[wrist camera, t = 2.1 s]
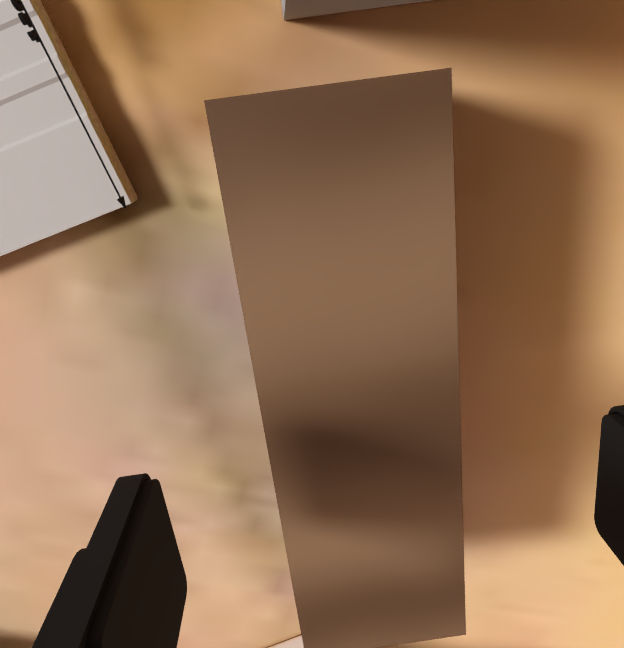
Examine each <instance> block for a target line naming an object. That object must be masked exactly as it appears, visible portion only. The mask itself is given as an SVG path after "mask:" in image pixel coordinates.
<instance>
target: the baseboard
mask: <svg viewBox="0 0 624 648" xmlns="http://www.w3.org/2000/svg"><path fill="white" fill-rule="evenodd" d="M136 200H137V195H136V193H135V191H134V189H133V187H132V184H131V182H130V180H129V178H128V176H127V174H126V172H125V170H124V168H123V166H122V164H121V162H120V160H119V158H118V156H117V154H116V152H115V150H114V148H113V146H112V144H111V142H110V140H109V138H108V136H107V134H106V132H105V130H104V128H103V126H102V124H101V122H100V120H99V118H98V116H97V114H96V112H95V110H94V108H93V105H92V103H91V101H90V99H89V97H88V95H87V93H86V91H85V89H84V87H83V85H82V83H81V81H80V79H79V77H78V75H77V73H76V71H75V69H74V67H73V65H72V63H71V61H70V59H69V57H68V55H67V53H66V51H65V49H64V47H63V45H62V43H61V41H60V39H59V37H58V35H57V33H56V31H55V29H54V26H53V24H52V22H51V20H50V18H49V16H48V14H47V12H46V10H45V8H44V6H43V4H42V2H41V0H0V256H2V255H5V254H7V253H10V252H12V251H15V250H17V249H20V248H22V247H25V246H27V245H30V244H32V243H35V242H37V241H39V240H42V239H44V238H47V237H49V236H52V235H54V234H57V233H59V232H62V231H64V230H67V229H69V228H72V227H74V226H77V225H79V224H82V223H84V222H87V221H89V220H92V219H94V218H97V217H99V216H102V215H104V214H106V213H109V212H111V211H114V210H116V209H119V208H121V207H124V208H126V205H129V204H131V203H133V202H134V201H136Z"/></svg>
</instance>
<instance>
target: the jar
mask: <svg viewBox="0 0 624 648" xmlns="http://www.w3.org/2000/svg"><path fill="white" fill-rule="evenodd" d="M268 648H304V646H303V640H302V635H300V636H297V637H295V638H292V639H289V640H287V641H284V642H281V643H279V644H276V645H273V646H271V647H268Z"/></svg>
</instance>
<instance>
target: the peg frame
mask: <svg viewBox="0 0 624 648" xmlns="http://www.w3.org/2000/svg"><path fill="white" fill-rule="evenodd" d="M424 1H432V0H281V2H282V10H283V18H284V20H290V19H298V18H305V17H312V16H320V15H327V14H335V13H342V12H350V11H357V10H365V9H372V8H379V7H387V6H394V5H402V4H409V3H417V2H424Z"/></svg>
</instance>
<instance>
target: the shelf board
mask: <svg viewBox="0 0 624 648" xmlns="http://www.w3.org/2000/svg"><path fill="white" fill-rule="evenodd" d="M204 102H205V108H206V113H207V119H208V124H209V130H210V135H211V141H212V146H213V152H214V157H215V163H216V168H217V174H218V179H219V185H220V190H221V195H222V201H223V206H224V212H225V217H226V223H227V228H228V234H229V239H230V245H231V250H232V256H233V261H234V267H235V272H236V278H237V283H238V289H239V294H240V300H241V305H242V311H243V316H244V322H245V327H246V333H247V338H248V344H249V349H250V355H251V360H252V366H253V371H254V377H255V382H256V388H257V393H258V399H259V404H260V410H261V415H262V421H263V426H264V432H265V437H266V443H267V448H268V454H269V459H270V464H271V470H272V475H273V481H274V486H275V492H276V497H277V503H278V508H279V514H280V519H281V525H282V530H283V536H284V541H285V547H286V552H287V558H288V563H289V569H290V574H291V580H292V585H293V591H294V596H295V602H296V607H297V613H298V618H299V624H300V629H301V635H302V640H303V646H304V648H377V647H384V646H391V645H398V644H405V643H412V642H418V641H425V640H432V639H439V638H446V637H453V636H460V635H466V621H465V582H464V543H463V504H462V465H461V426H460V387H459V348H458V309H457V270H456V231H455V192H454V153H453V114H452V75H451V68H446V69H439V70H431V71H424V72H416V73H408V74H401V75H393V76H386V77H378V78H371V79H363V80H356V81H348V82H340V83H333V84H325V85H318V86H310V87H303V88H295V89H288V90H280V91H272V92H265V93H257V94H250V95H242V96H235V97H227V98H220V99H212V100H204Z"/></svg>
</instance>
